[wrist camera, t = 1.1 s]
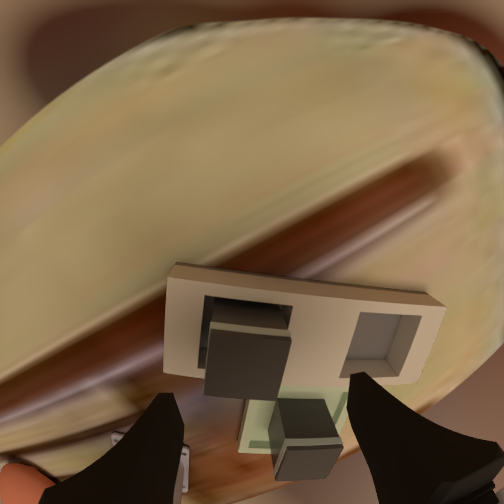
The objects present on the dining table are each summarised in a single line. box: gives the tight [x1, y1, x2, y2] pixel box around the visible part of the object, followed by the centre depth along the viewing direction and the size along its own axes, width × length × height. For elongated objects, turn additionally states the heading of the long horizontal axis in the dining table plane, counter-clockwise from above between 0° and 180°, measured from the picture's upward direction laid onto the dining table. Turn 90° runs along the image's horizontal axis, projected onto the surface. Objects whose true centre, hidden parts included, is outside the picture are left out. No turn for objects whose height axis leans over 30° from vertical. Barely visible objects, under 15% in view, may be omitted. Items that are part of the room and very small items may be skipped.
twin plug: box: [203, 297, 292, 401], centre depth 19 cm, size 4×4×6 cm
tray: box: [238, 385, 349, 454], centre depth 24 cm, size 9×9×2 cm
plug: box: [268, 398, 344, 481], centre depth 21 cm, size 4×4×6 cm
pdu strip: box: [163, 262, 447, 387], centre depth 21 cm, size 7×20×3 cm, turn 81°
